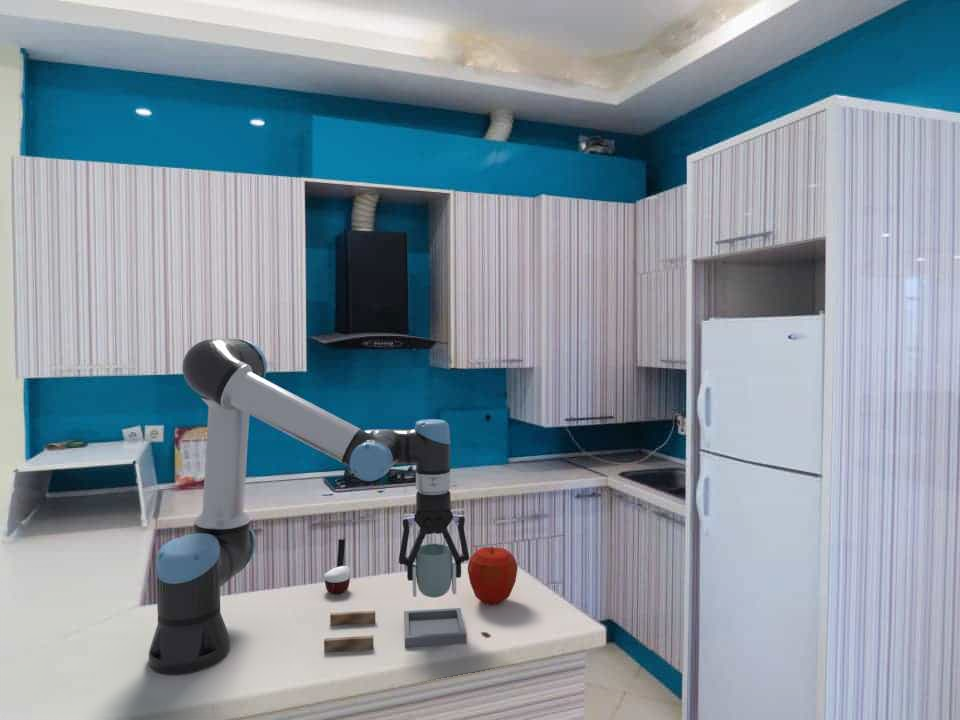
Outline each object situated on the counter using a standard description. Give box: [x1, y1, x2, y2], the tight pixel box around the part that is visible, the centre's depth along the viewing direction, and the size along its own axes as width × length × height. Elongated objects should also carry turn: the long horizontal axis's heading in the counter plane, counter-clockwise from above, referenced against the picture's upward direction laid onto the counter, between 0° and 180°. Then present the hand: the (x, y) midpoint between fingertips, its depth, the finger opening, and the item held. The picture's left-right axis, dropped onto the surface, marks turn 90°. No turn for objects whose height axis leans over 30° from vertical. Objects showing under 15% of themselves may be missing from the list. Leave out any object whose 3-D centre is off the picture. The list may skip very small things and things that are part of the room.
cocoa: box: [323, 538, 351, 596], centre depth 161 cm, size 10×6×12 cm, turn 156°
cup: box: [415, 543, 453, 599], centre depth 139 cm, size 8×8×10 cm
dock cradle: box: [403, 607, 467, 648], centre depth 140 cm, size 13×13×2 cm
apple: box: [467, 545, 518, 606], centre depth 154 cm, size 12×12×14 cm
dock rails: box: [323, 610, 376, 654], centre depth 137 cm, size 10×13×2 cm
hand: (434, 592), depth 139 cm, fingers closed on cup, 8 cm apart
